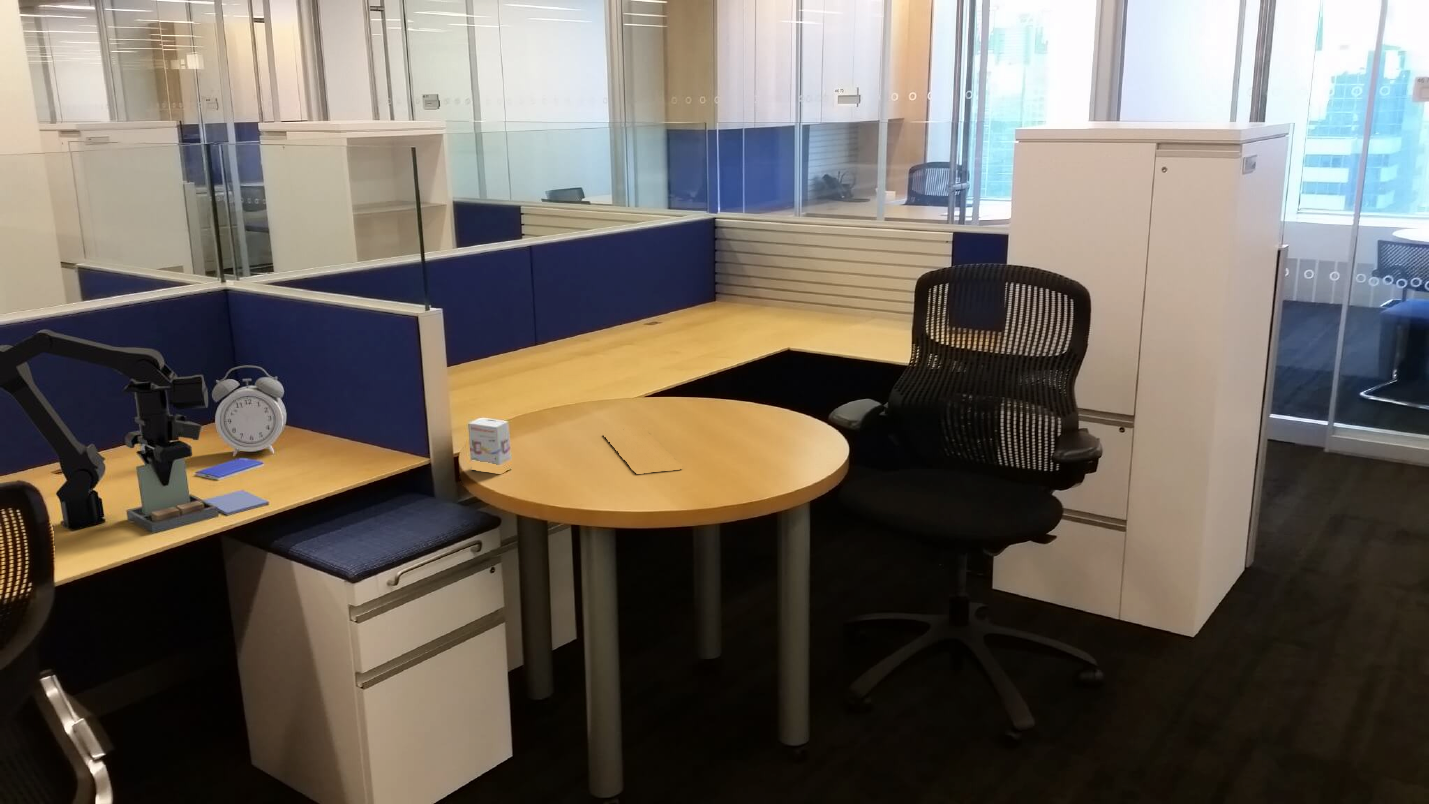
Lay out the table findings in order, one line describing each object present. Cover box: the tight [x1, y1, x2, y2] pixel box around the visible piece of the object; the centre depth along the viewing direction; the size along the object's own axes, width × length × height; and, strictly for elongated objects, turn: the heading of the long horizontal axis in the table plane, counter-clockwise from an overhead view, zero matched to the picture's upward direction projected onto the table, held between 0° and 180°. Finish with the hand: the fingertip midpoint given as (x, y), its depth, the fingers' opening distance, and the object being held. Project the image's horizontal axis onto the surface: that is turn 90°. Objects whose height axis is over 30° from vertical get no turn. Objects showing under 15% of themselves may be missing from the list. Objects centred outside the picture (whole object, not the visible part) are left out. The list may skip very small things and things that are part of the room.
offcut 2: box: [176, 501, 204, 515], centre depth 227 cm, size 4×3×3 cm
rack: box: [125, 493, 220, 534], centre depth 227 cm, size 13×13×2 cm
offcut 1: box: [151, 507, 180, 522], centre depth 223 cm, size 4×3×3 cm
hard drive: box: [195, 457, 265, 481], centre depth 258 cm, size 2×8×12 cm
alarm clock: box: [211, 365, 287, 457], centre depth 270 cm, size 16×9×22 cm, turn 104°
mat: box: [203, 489, 270, 516], centre depth 235 cm, size 9×12×1 cm
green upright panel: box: [135, 458, 190, 515], centre depth 228 cm, size 9×2×10 cm, turn 138°
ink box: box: [467, 417, 512, 465], centre depth 255 cm, size 9×5×12 cm, turn 65°
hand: (163, 484), depth 227 cm, fingers closed on green upright panel, 2 cm apart
